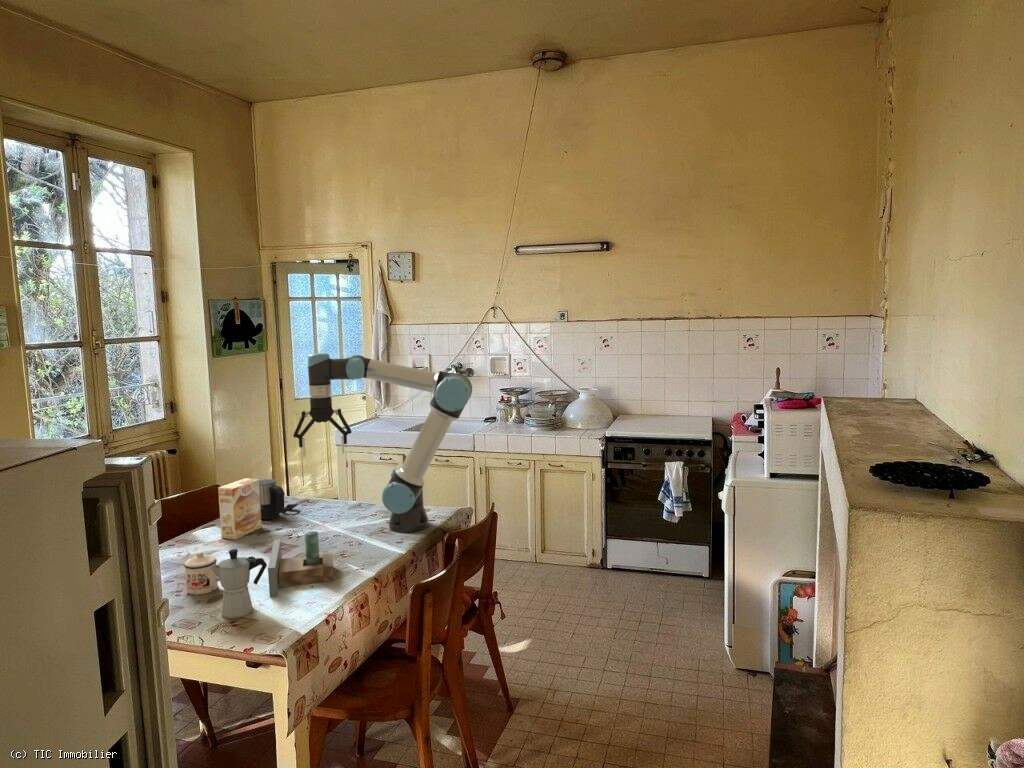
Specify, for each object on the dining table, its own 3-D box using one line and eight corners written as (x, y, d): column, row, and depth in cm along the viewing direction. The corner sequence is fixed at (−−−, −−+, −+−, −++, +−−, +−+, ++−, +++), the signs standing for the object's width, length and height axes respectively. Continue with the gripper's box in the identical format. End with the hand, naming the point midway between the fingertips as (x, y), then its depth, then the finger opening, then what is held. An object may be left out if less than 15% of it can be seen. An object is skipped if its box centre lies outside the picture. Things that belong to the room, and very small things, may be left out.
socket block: (333, 566, 225) (332, 553, 224) (333, 580, 213) (332, 566, 213) (281, 572, 221) (281, 558, 220) (279, 586, 209) (278, 572, 209)
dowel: (320, 572, 220) (317, 530, 218) (320, 577, 216) (317, 534, 215) (307, 574, 219) (304, 532, 217) (307, 579, 215) (304, 536, 214)
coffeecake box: (236, 540, 254) (232, 488, 252) (220, 538, 256) (216, 487, 254) (262, 527, 268) (259, 478, 266) (247, 525, 271) (244, 477, 268)
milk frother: (250, 519, 279) (248, 484, 277) (271, 508, 294) (268, 474, 292) (283, 521, 276) (280, 485, 274) (302, 509, 291) (299, 475, 290)
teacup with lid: (181, 596, 204) (178, 558, 203) (192, 584, 213) (189, 548, 212) (222, 593, 206) (220, 556, 204) (232, 581, 215) (229, 545, 213)
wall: (282, 565, 227) (280, 539, 226) (277, 596, 202) (275, 567, 201) (276, 566, 227) (274, 539, 226) (269, 597, 202) (267, 568, 201)
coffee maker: (212, 622, 186) (208, 558, 184) (212, 610, 194) (208, 548, 192) (270, 612, 192) (266, 550, 190) (268, 600, 200) (264, 540, 198)
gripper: (283, 399, 240) (287, 459, 242) (356, 395, 246) (359, 453, 248) (284, 397, 247) (288, 455, 249) (355, 393, 253) (358, 449, 256)
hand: (323, 454), depth 249 cm, fingers open, 13 cm apart
